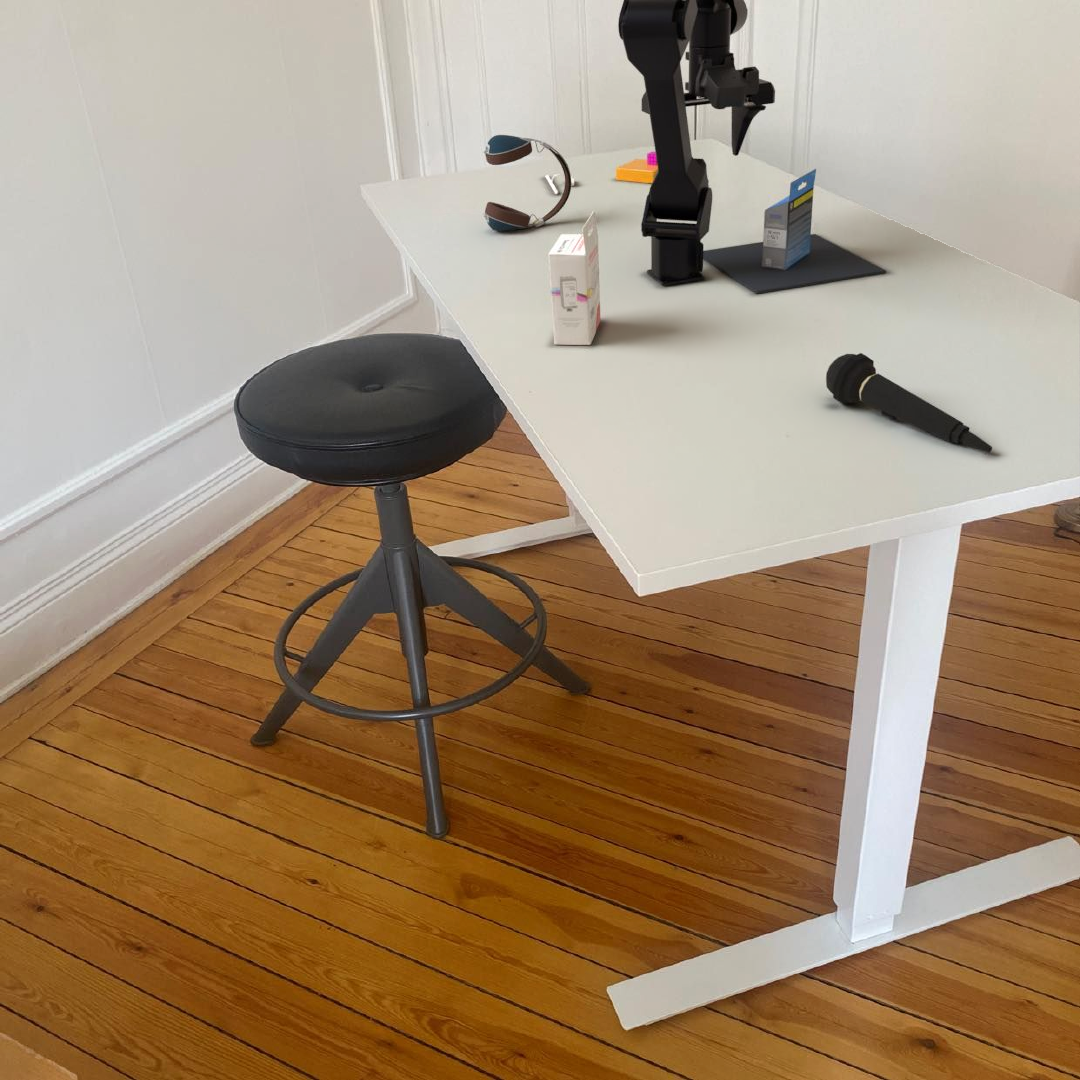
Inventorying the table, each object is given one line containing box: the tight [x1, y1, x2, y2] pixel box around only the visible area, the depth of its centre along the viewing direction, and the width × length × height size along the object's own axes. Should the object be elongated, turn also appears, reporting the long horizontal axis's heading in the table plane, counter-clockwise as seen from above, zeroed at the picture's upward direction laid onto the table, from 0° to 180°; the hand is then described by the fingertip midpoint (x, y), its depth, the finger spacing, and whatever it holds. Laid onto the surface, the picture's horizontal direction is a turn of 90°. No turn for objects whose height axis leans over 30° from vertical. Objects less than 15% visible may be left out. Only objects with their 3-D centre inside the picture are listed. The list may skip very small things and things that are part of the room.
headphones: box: [483, 134, 572, 232], centre depth 181 cm, size 6×15×22 cm
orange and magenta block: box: [615, 151, 658, 184], centre depth 209 cm, size 8×8×4 cm
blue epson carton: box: [762, 168, 817, 270], centre depth 159 cm, size 9×4×12 cm, turn 146°
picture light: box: [545, 173, 575, 195], centre depth 208 cm, size 14×4×2 cm, turn 8°
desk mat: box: [703, 233, 887, 295], centre depth 162 cm, size 20×20×1 cm
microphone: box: [825, 352, 993, 453], centre depth 115 cm, size 6×6×20 cm
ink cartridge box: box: [547, 210, 601, 346], centre depth 139 cm, size 9×5×15 cm, turn 168°
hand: (706, 158), depth 165 cm, fingers open, 9 cm apart
